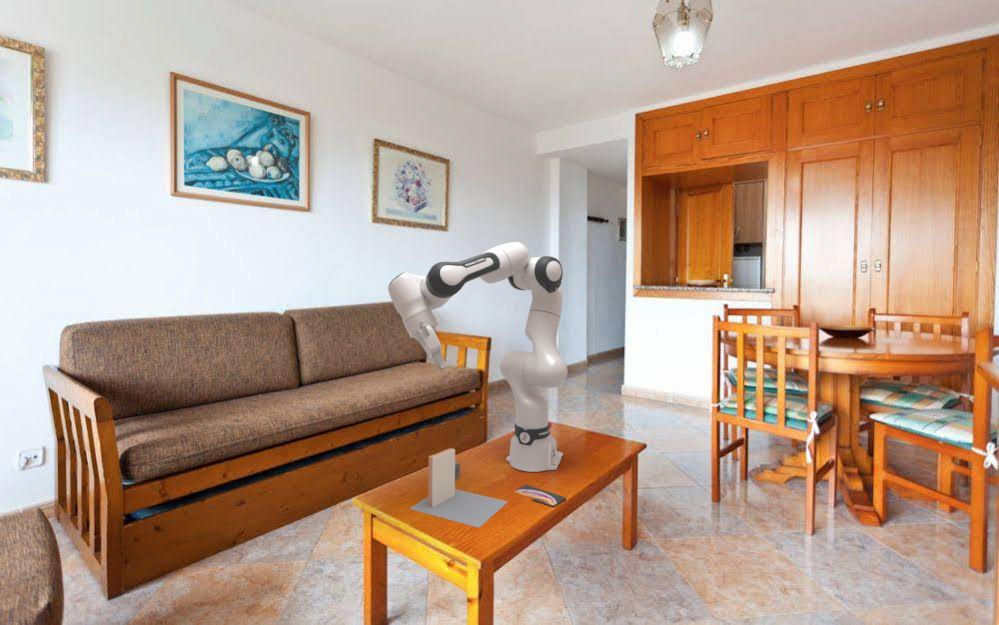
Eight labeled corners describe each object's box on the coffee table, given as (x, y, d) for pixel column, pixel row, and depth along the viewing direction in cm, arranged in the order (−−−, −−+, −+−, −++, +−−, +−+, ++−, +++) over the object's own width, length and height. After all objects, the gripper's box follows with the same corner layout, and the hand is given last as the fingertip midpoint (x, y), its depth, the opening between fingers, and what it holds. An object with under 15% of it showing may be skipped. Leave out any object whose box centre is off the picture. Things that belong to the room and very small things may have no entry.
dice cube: (437, 479, 158) (438, 464, 158) (447, 474, 163) (447, 459, 162) (450, 483, 156) (450, 467, 155) (459, 477, 160) (459, 462, 160)
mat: (443, 487, 152) (443, 486, 152) (508, 503, 142) (508, 501, 142) (409, 510, 137) (409, 508, 137) (478, 529, 127) (479, 527, 127)
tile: (428, 505, 139) (428, 456, 138) (450, 494, 146) (450, 448, 145) (433, 507, 138) (433, 457, 137) (454, 496, 145) (455, 449, 144)
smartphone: (553, 506, 139) (511, 492, 149) (553, 509, 139) (511, 494, 149) (567, 497, 145) (525, 483, 154) (567, 500, 145) (525, 486, 155)
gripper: (431, 314, 133) (455, 360, 132) (431, 326, 153) (452, 365, 152) (410, 325, 132) (434, 371, 131) (413, 335, 152) (433, 375, 151)
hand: (443, 368), depth 142 cm, fingers open, 8 cm apart
